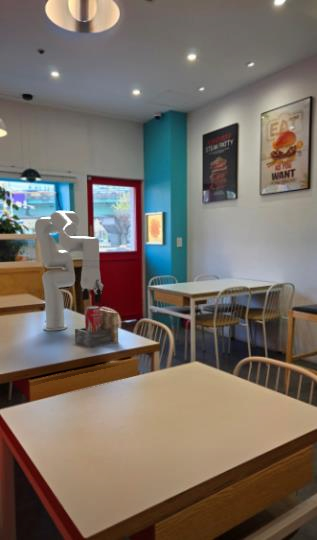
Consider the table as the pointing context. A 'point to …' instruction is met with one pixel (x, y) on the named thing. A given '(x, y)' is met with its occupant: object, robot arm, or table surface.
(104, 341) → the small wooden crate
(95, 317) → the soda can
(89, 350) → the table surface
